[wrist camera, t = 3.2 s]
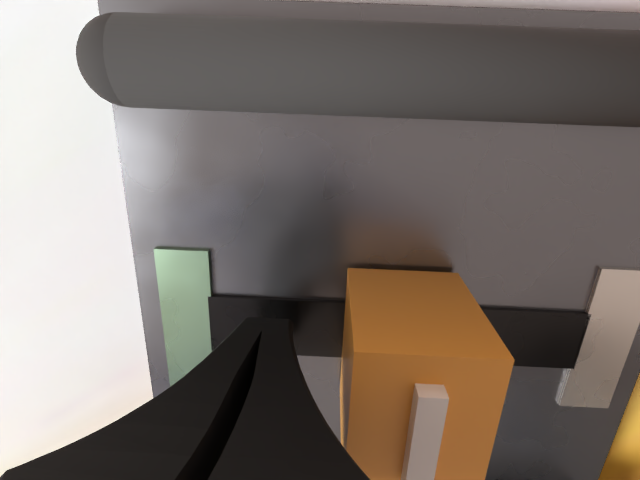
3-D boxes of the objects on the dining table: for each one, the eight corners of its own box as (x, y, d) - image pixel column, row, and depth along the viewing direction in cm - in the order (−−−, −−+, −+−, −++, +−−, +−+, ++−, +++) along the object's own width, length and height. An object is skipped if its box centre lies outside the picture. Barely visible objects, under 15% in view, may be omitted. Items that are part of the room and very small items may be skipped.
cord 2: (734, 128, 10) (821, 138, 9) (112, 104, 11) (65, 108, 9) (767, 41, 10) (871, 30, 8) (99, 17, 10) (46, 2, 8)
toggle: (436, 393, 13) (482, 529, 9) (339, 388, 14) (342, 522, 9) (457, 272, 12) (523, 373, 8) (347, 267, 12) (355, 364, 8)
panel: (560, 507, 17) (577, 540, 16) (180, 486, 17) (168, 517, 16) (730, 24, 11) (783, 16, 9) (121, 3, 11) (93, -7, 10)
